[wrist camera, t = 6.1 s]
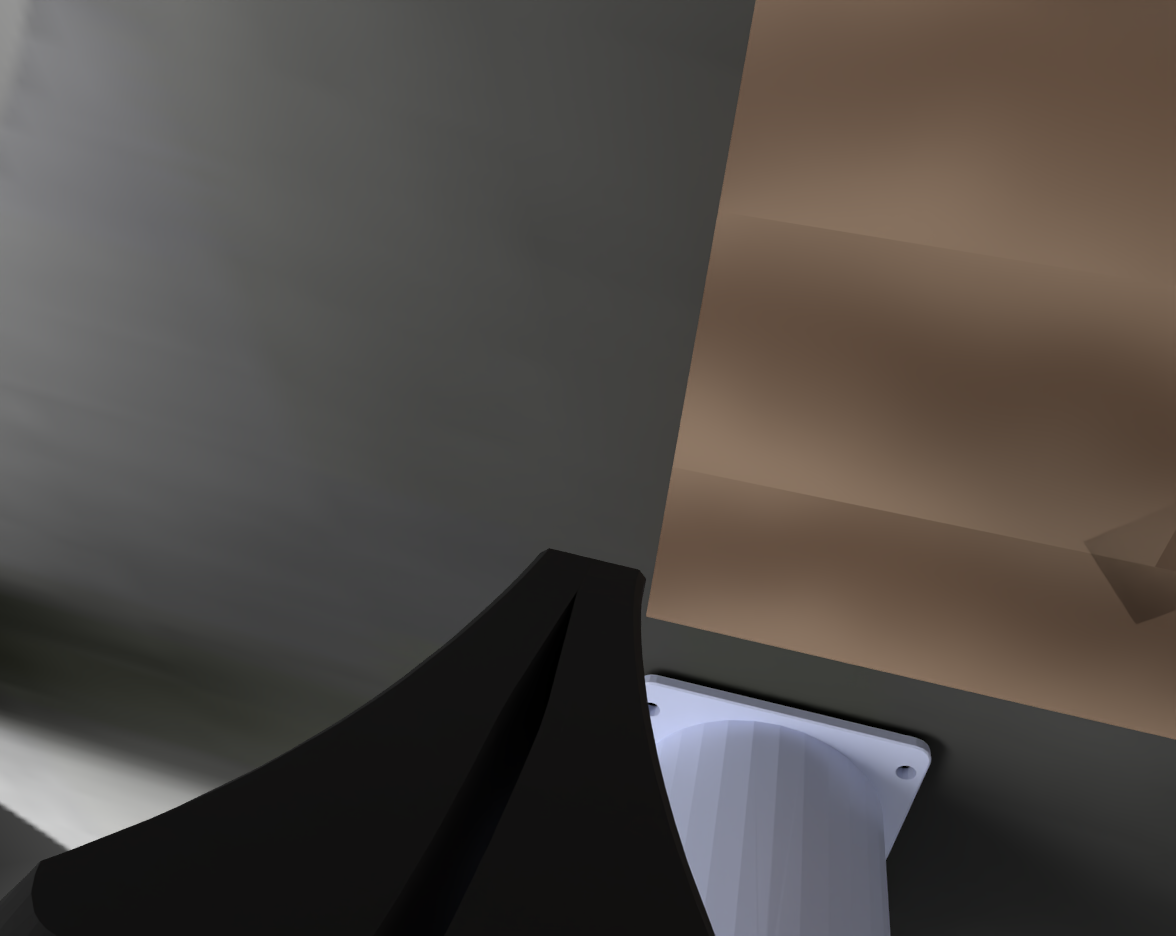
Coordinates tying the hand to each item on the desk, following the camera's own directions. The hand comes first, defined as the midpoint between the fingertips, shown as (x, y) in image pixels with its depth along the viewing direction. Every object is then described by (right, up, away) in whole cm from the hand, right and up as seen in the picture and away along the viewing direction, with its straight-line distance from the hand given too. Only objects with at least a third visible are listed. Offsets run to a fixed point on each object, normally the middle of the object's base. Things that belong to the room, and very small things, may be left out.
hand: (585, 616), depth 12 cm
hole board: (+11, +4, +6) cm, 13 cm away
